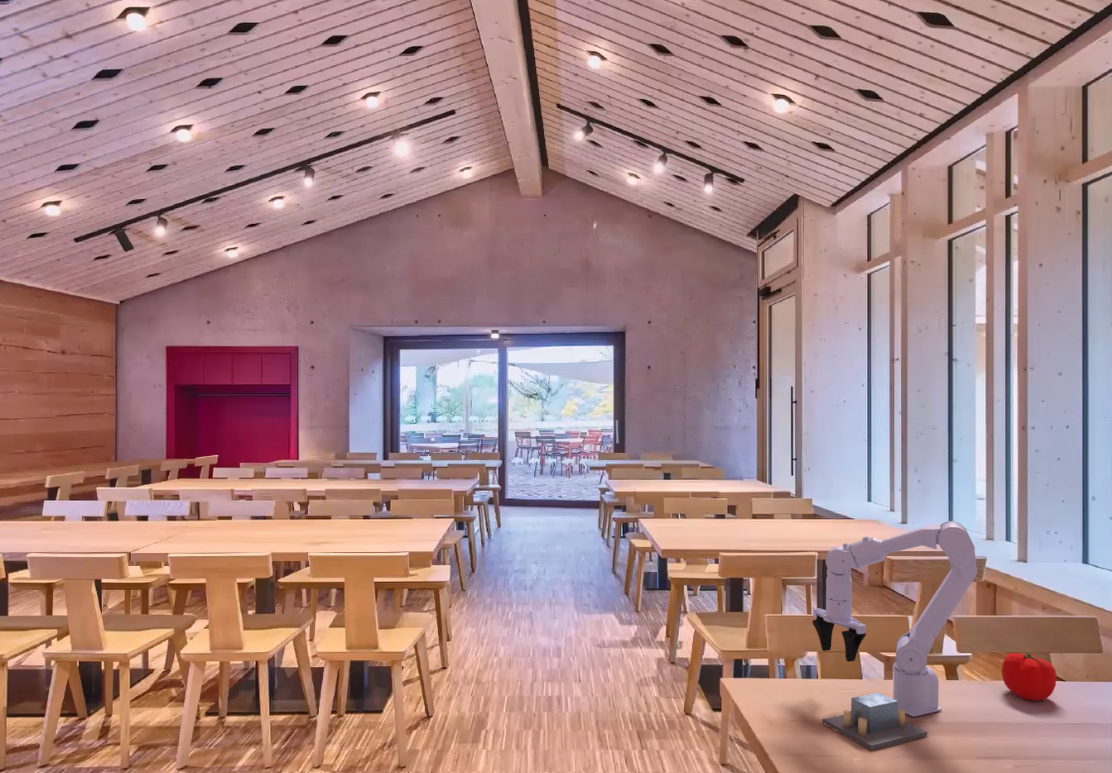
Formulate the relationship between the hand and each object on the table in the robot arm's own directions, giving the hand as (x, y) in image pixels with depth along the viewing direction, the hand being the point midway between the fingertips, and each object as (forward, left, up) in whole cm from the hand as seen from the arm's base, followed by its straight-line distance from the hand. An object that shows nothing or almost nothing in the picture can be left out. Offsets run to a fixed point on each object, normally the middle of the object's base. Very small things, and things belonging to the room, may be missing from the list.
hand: (838, 655), depth 174 cm
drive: (+7, +17, -8) cm, 20 cm away
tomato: (-43, +18, -10) cm, 48 cm away
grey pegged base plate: (+7, +17, -9) cm, 21 cm away
